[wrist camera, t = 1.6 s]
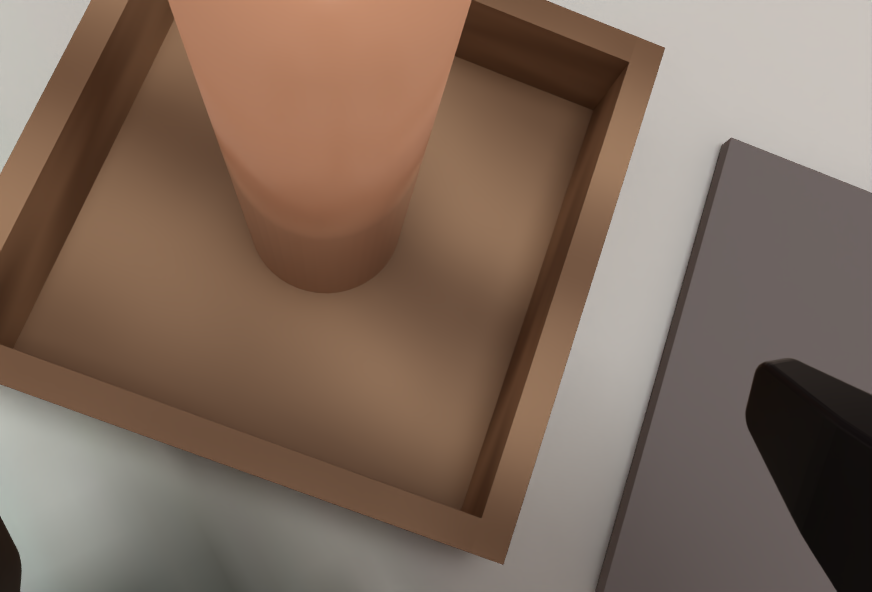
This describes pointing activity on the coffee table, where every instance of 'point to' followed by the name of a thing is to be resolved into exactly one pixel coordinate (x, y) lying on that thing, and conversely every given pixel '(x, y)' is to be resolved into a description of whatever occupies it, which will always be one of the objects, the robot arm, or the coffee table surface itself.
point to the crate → (323, 312)
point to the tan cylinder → (322, 120)
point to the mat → (743, 379)
